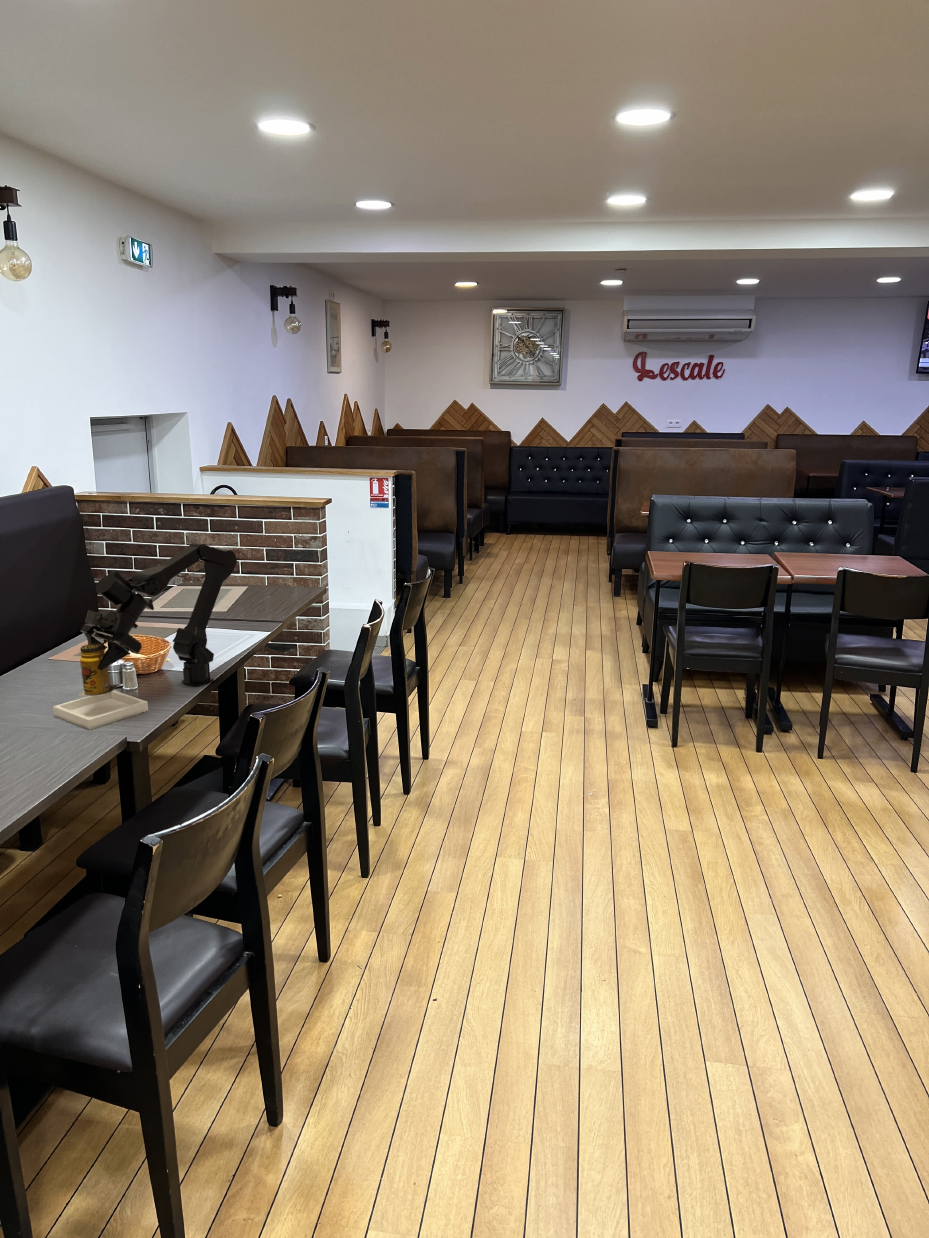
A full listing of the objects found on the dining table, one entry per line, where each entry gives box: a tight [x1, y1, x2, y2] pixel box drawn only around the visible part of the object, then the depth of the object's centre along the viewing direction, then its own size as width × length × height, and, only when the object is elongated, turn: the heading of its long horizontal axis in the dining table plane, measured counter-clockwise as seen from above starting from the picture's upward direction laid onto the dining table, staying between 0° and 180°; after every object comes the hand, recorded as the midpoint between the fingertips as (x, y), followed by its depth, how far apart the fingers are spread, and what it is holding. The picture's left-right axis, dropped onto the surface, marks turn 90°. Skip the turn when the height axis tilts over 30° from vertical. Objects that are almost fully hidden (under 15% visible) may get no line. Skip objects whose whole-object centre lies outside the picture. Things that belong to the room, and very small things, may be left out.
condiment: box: [77, 643, 121, 697], centre depth 213 cm, size 7×8×12 cm
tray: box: [52, 689, 149, 731], centre depth 215 cm, size 16×16×2 cm
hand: (91, 667), depth 211 cm, fingers closed on condiment, 6 cm apart
